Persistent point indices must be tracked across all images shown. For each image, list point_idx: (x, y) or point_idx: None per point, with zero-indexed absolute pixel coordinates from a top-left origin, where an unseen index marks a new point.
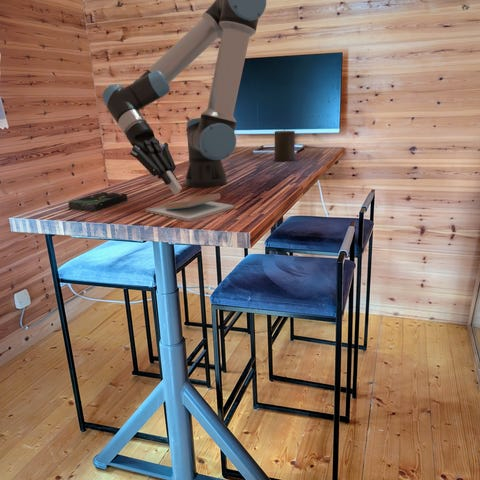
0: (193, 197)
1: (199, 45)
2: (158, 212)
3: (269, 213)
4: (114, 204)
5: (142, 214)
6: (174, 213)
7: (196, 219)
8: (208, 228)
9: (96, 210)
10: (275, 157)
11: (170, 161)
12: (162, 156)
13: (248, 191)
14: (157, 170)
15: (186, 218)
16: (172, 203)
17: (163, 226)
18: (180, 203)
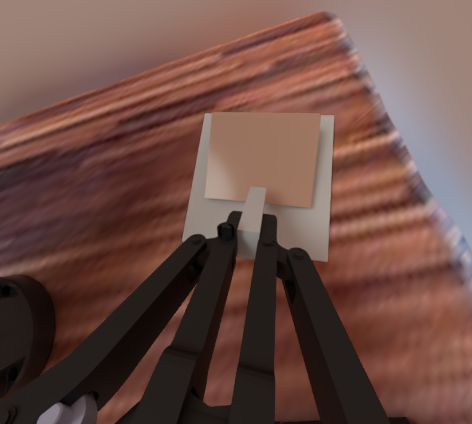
0: (225, 185)
1: None
2: (329, 210)
3: (213, 50)
4: (316, 422)
5: (346, 251)
6: (319, 168)
7: None
8: (346, 65)
9: (402, 419)
10: None
11: (184, 263)
12: (196, 308)
13: (69, 180)
14: (301, 249)
15: (333, 123)
16: (313, 175)
17: (389, 137)
18: (316, 145)
